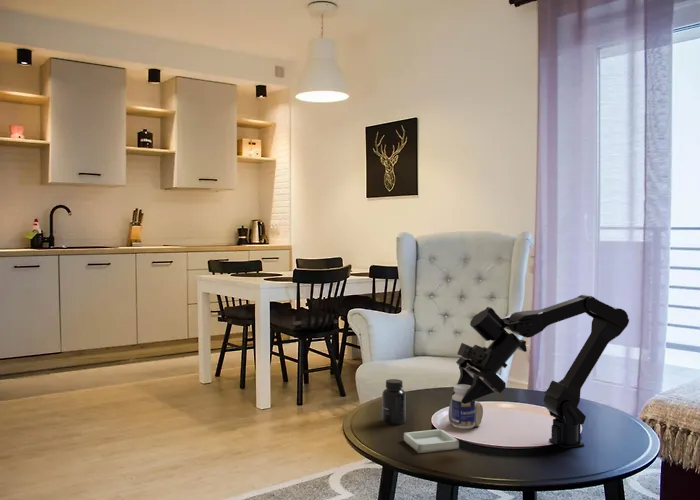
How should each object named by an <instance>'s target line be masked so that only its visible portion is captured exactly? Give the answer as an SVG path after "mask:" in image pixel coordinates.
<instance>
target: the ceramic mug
mask: <svg viewBox="0 0 700 500" xmlns="http://www.w3.org/2000/svg"><path fill="white" fill-rule="evenodd" d="M449 403H450V404H449V406H448V420H449V422H450V423H451V424H452V399H451V400H450V402H449ZM483 415H484V407H483V405H482V403H481V402H479V401H477V400H475V426H474V427H473V428H477V427H479V426H480V424H481V423H482V421H483Z"/></svg>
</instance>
